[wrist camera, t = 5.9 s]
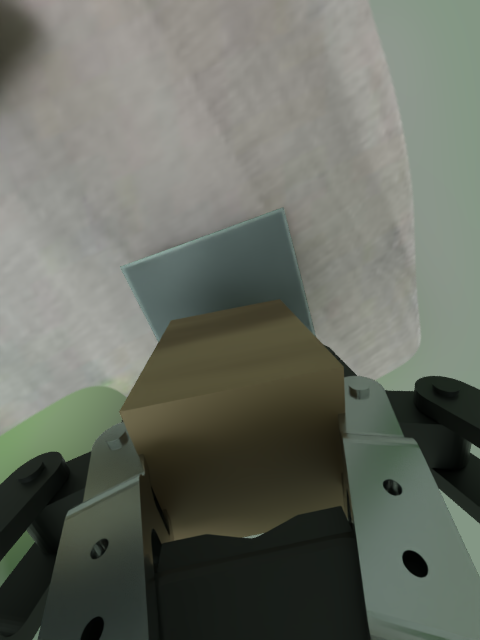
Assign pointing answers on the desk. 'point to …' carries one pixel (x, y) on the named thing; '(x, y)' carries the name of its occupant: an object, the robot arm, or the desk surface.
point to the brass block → (239, 421)
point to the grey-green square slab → (221, 273)
